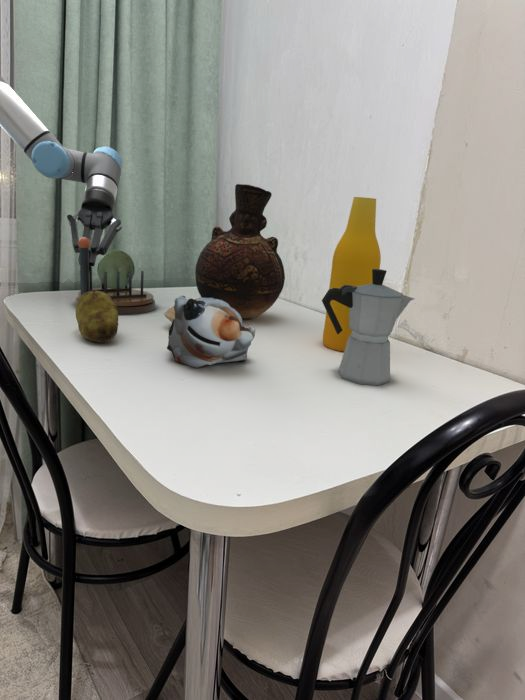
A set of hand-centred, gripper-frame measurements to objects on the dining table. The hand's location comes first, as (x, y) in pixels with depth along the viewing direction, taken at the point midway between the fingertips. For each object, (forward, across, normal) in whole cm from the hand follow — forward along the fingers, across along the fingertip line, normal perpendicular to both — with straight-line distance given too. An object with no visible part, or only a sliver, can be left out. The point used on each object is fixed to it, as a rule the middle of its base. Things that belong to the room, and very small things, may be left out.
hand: (83, 275), depth 115 cm
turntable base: (+3, -7, -6) cm, 10 cm away
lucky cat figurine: (+31, -29, +21) cm, 47 cm away
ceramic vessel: (+5, -35, -4) cm, 36 cm away
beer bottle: (+20, -56, +11) cm, 61 cm away
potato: (+23, -8, +13) cm, 27 cm away
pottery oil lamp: (+17, -24, +7) cm, 31 cm away
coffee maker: (+33, -54, +24) cm, 68 cm away
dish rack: (+2, -7, -5) cm, 9 cm away
